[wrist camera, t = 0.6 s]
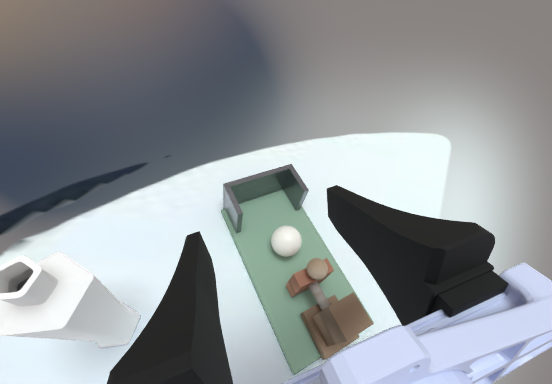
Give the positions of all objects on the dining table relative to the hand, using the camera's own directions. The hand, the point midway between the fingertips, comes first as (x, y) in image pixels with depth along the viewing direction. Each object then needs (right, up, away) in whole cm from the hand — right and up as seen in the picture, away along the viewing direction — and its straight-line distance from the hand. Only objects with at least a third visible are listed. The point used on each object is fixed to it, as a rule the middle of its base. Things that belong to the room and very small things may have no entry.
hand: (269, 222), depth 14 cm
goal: (-1, -1, +20) cm, 20 cm away
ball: (+2, -4, +16) cm, 16 cm away
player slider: (+5, -11, +13) cm, 18 cm away
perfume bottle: (-14, -11, +11) cm, 21 cm away
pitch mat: (+2, -7, +17) cm, 18 cm away
